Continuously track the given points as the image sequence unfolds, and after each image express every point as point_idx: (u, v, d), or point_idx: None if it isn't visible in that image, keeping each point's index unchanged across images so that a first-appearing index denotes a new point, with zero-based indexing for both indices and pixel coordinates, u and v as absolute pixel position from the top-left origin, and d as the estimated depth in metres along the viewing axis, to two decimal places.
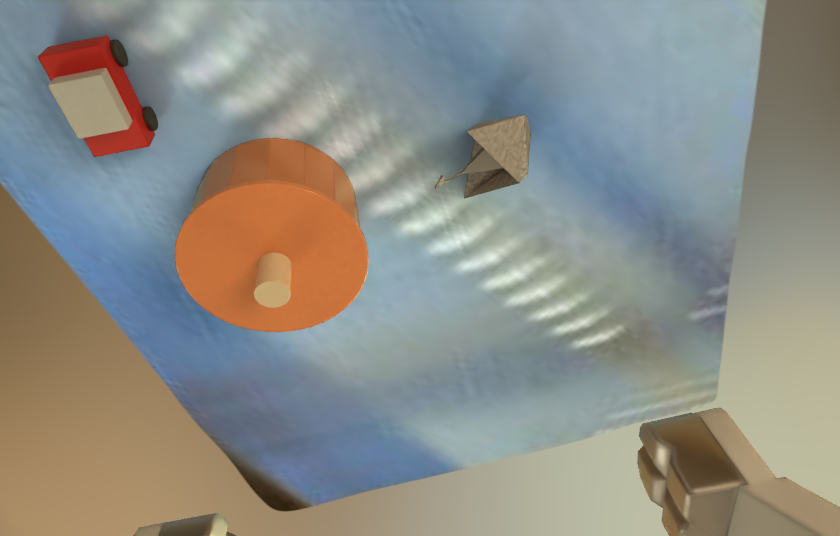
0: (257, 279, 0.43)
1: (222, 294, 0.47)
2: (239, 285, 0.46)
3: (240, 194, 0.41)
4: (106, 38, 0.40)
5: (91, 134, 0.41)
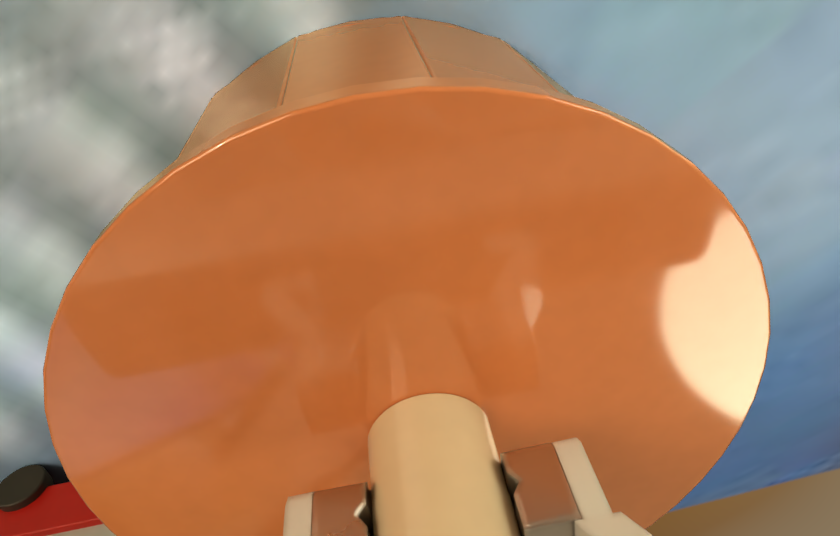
0: None
1: None
2: None
3: (123, 512, 0.12)
4: None
5: None
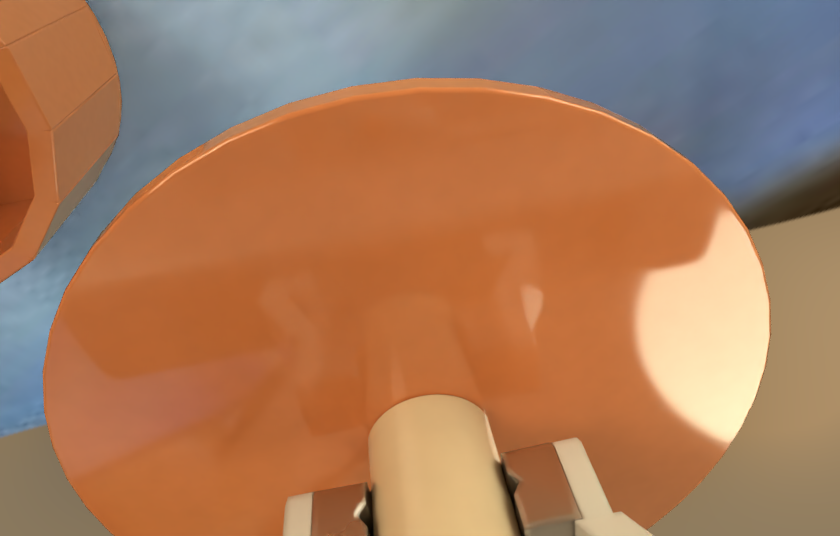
0: None
1: None
2: None
3: (123, 513, 0.12)
4: None
5: None
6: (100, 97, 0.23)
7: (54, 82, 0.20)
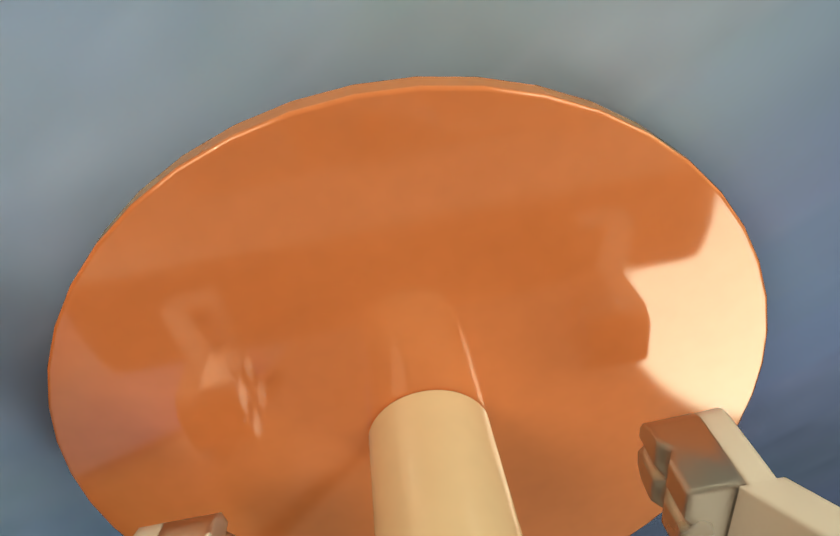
0: None
1: None
2: None
3: (126, 508, 0.13)
4: None
5: None
6: None
7: None
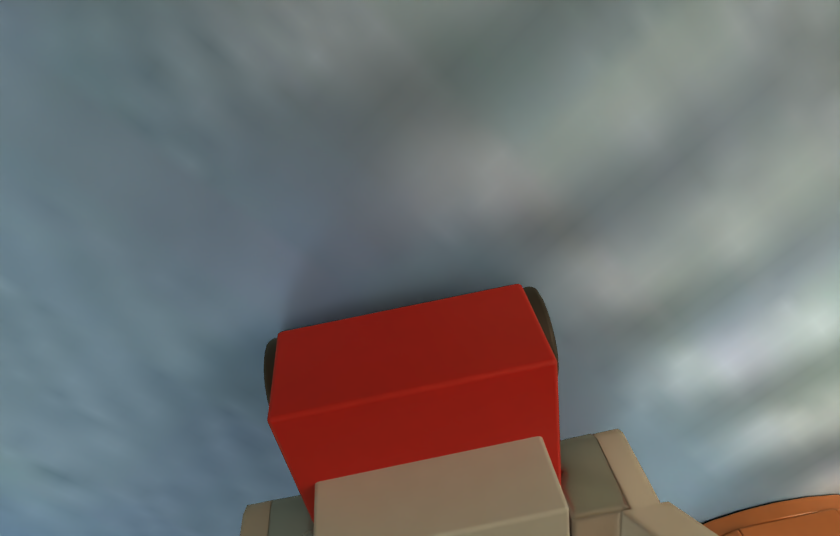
0: None
1: None
2: None
3: None
4: (528, 301, 0.10)
5: None
6: None
7: None
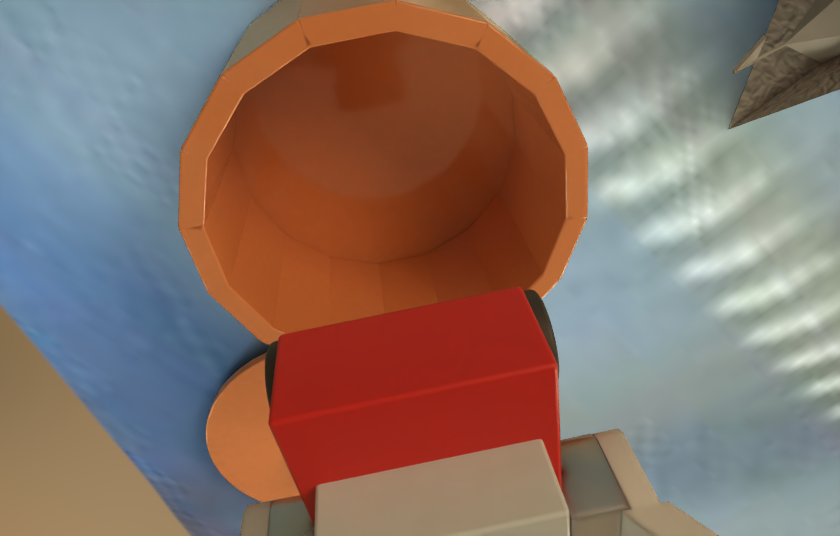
0: None
1: (264, 473, 0.35)
2: None
3: None
4: (529, 304, 0.10)
5: None
6: None
7: None
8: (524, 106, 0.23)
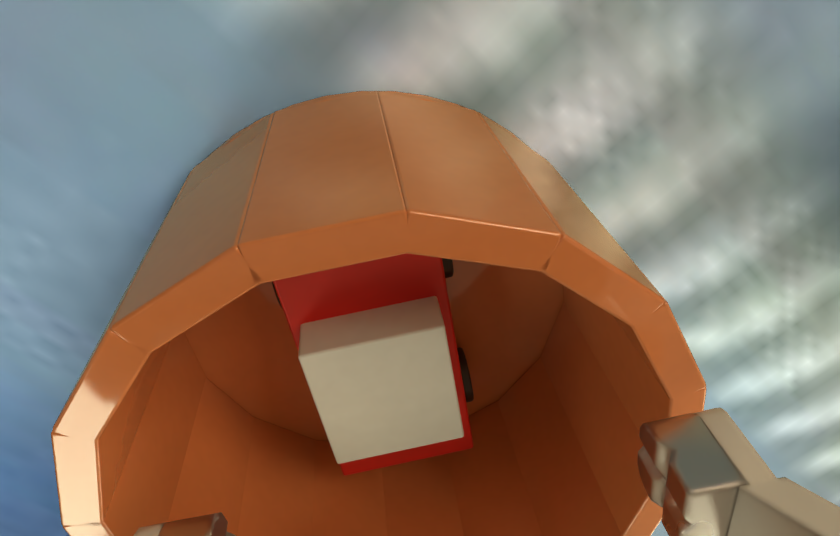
0: None
1: None
2: None
3: None
4: None
5: (372, 453, 0.16)
6: None
7: None
8: None
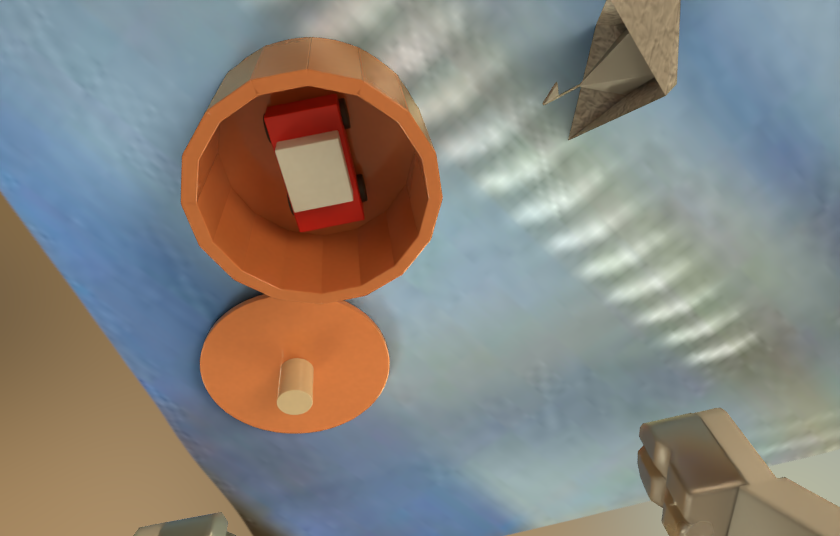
0: (280, 387, 0.43)
1: (244, 398, 0.47)
2: (261, 389, 0.47)
3: (266, 304, 0.42)
4: (337, 96, 0.34)
5: (310, 207, 0.35)
6: None
7: None
8: None
